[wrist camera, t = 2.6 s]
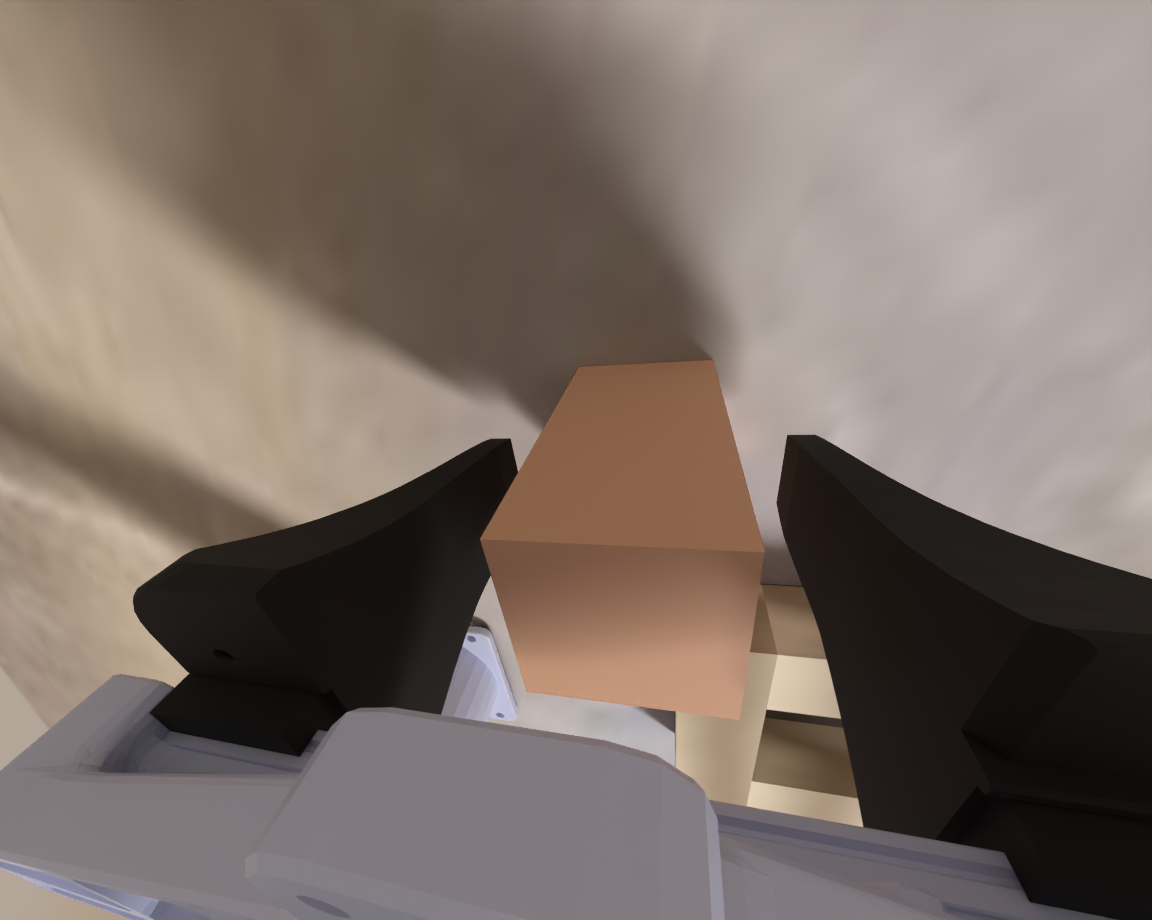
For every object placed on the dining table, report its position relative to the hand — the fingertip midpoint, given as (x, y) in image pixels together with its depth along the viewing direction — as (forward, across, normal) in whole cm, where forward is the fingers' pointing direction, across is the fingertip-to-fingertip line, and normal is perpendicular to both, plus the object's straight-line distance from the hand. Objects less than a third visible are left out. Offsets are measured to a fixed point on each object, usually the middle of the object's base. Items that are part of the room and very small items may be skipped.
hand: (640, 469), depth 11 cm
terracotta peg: (+3, 0, 0) cm, 3 cm away
